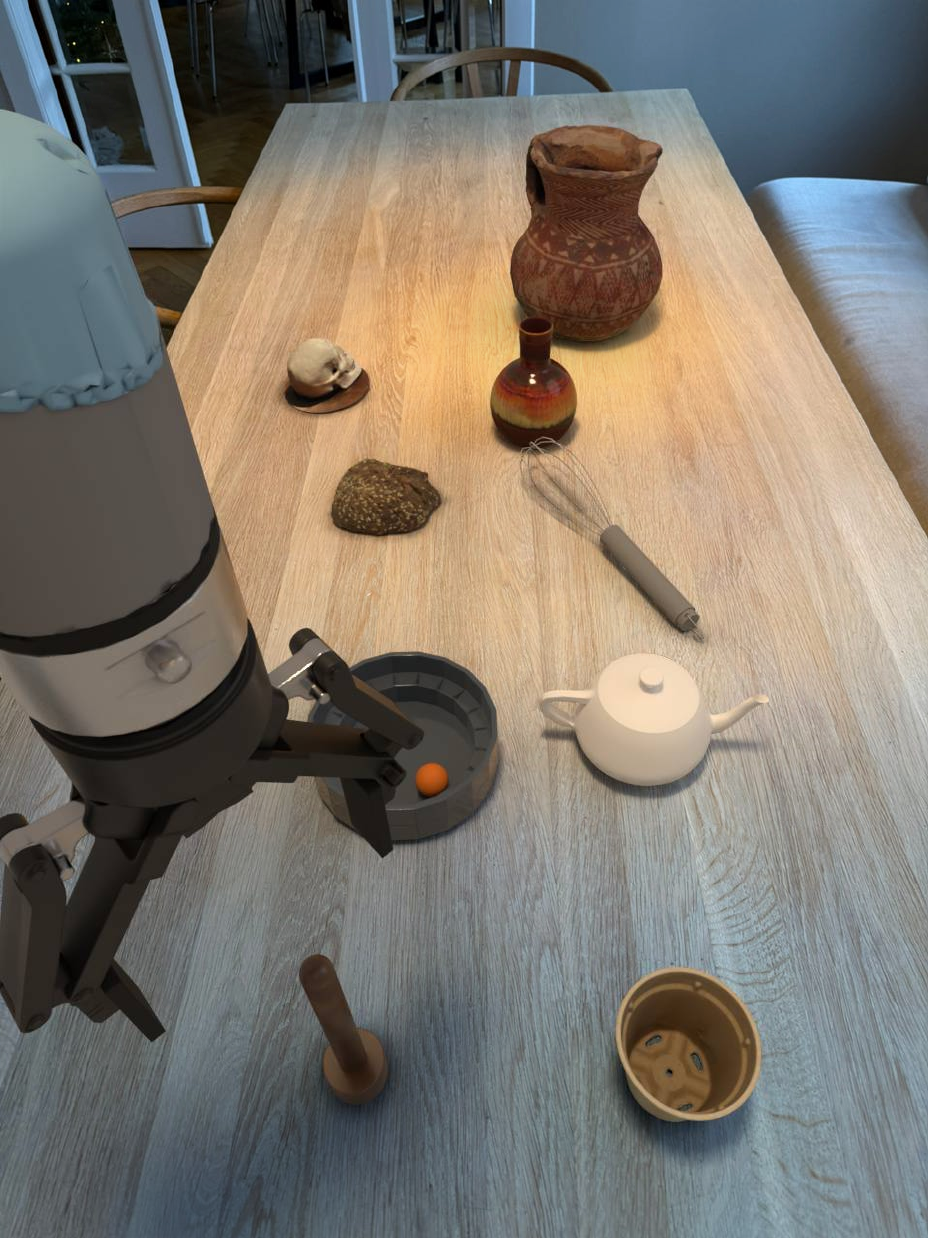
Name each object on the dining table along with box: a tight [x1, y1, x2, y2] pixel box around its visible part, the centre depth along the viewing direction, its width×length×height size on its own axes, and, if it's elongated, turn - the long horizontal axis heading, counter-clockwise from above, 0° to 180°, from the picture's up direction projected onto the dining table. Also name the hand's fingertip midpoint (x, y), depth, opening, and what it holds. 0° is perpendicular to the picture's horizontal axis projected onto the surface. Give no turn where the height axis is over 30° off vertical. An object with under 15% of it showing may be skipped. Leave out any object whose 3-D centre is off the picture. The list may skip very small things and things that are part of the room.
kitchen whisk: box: [519, 437, 705, 640], centre depth 99 cm, size 6×34×6 cm, turn 29°
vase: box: [489, 316, 578, 450], centre depth 111 cm, size 11×11×15 cm
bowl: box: [306, 650, 499, 841], centre depth 81 cm, size 17×17×6 cm
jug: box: [509, 124, 664, 342], centre depth 125 cm, size 22×21×25 cm
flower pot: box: [615, 966, 763, 1123], centre depth 61 cm, size 9×9×9 cm
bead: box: [415, 763, 449, 797], centre depth 79 cm, size 3×3×3 cm
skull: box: [283, 337, 370, 414], centre depth 123 cm, size 12×10×10 cm
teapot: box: [539, 652, 770, 787], centre depth 80 cm, size 20×12×10 cm, turn 85°
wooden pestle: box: [298, 953, 389, 1106], centre depth 57 cm, size 4×4×21 cm
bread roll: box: [330, 457, 442, 536], centre depth 106 cm, size 13×12×5 cm
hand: (266, 920), depth 45 cm, fingers open, 13 cm apart
